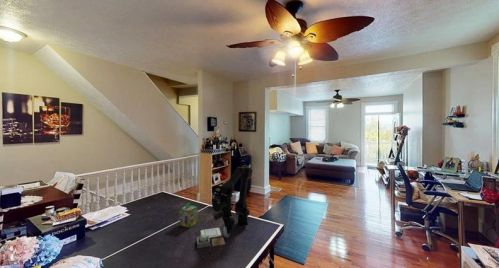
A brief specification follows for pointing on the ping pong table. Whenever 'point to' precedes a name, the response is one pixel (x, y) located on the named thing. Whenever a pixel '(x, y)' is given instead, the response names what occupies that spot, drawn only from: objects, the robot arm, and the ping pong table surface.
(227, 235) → the chalk stick
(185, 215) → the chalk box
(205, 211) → the ping pong table surface
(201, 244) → the button housing
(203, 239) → the button
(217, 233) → the sheet
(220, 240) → the cork pad
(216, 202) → the robot arm
